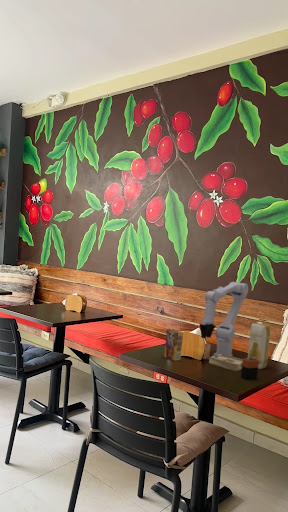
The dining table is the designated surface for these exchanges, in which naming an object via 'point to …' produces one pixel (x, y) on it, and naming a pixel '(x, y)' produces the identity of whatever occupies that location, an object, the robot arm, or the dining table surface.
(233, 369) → the tray
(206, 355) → the peg
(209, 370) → the dining table surface
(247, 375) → the battery
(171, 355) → the candy box
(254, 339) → the juice carton
